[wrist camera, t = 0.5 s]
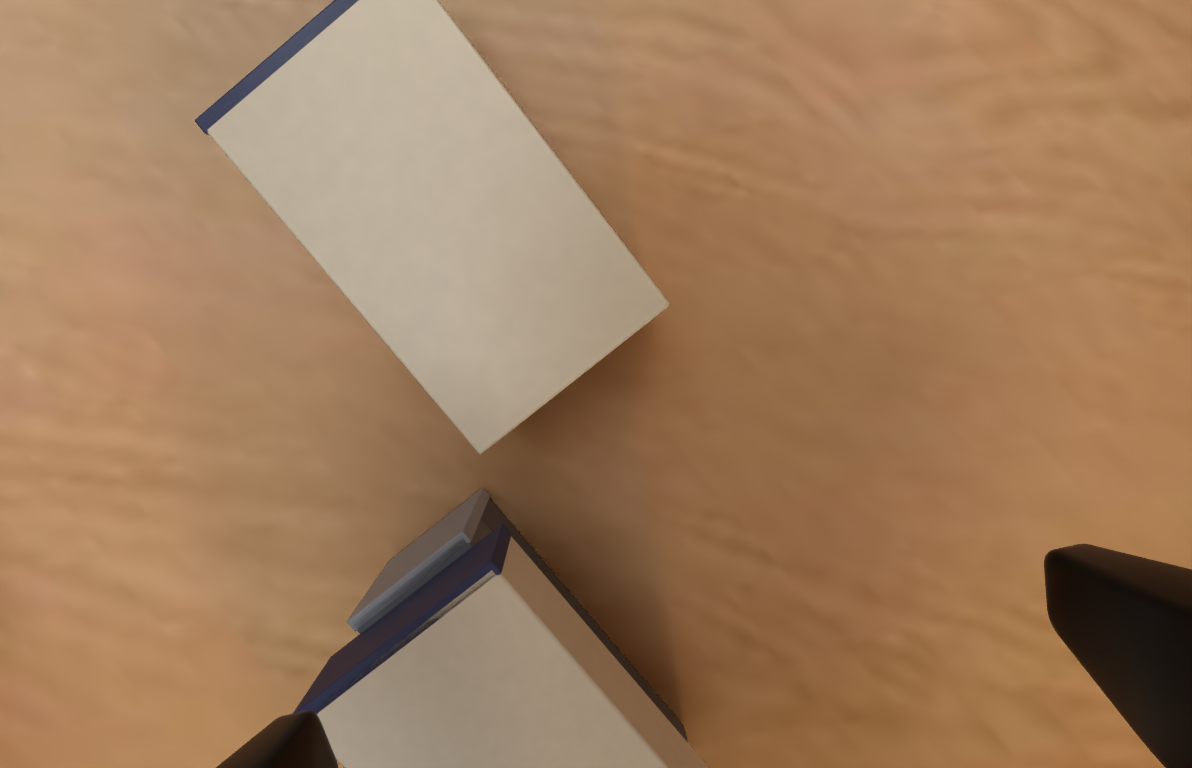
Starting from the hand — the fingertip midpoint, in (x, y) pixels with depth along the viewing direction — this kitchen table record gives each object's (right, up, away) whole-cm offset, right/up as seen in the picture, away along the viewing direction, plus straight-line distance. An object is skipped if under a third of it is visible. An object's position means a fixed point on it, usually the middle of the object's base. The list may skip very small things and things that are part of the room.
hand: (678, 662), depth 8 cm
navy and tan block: (-5, +8, +12) cm, 15 cm away
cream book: (-3, -6, +10) cm, 12 cm away
